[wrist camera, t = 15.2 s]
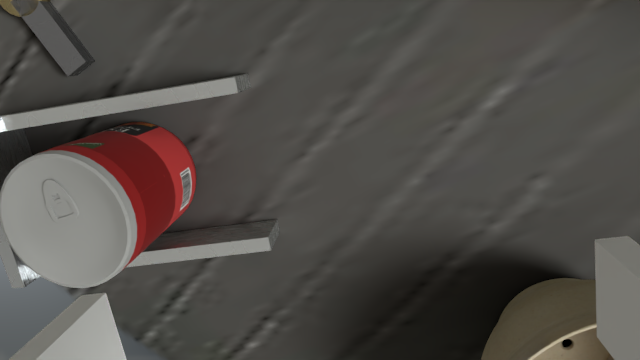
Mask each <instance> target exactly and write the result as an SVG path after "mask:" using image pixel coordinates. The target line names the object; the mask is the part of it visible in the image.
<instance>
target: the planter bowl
mask: <svg viewBox="0 0 640 360" xmlns="http://www.w3.org/2000/svg"><path fill="white" fill-rule="evenodd" d="M565 339H570V340H571V341H572V344H571V345H570V346H569V347H563V345H562V342H563V340H565ZM481 360H614V359H613V357H612V356H611V355H610V353H609V352H608V351H607V349H606V348H605V347H604V345H603V344H602V343H601V342H600V340H599V339H598V338H597V321H596V280H581V279H574V278H559V279H551V280H547V281H543V282H540V283H537V284H535V285H533V286H530V287H528V288H527V289H525V290H523V291H522V292H521V293H519V294H518V295H517V296H516V297H514V298H513V299H512V300H511V301H510V303H509V304H508V305H507V306H506V308H505V309H504V311H503V312H502V314H501V316H500V318H499V321H498V323H497V325H496V326H495V328H494V329H493V331H492V333H491V334H490V337H489V339H488V341H487V343H486V346H485V348H484V351H483V354H482V358H481Z"/></svg>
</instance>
